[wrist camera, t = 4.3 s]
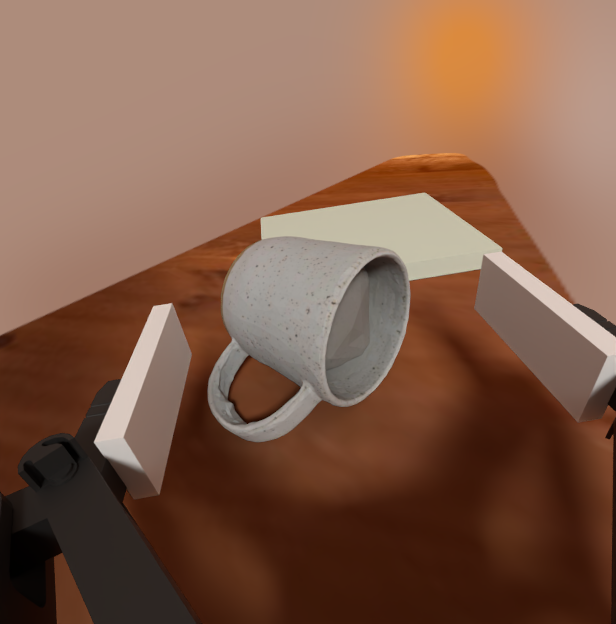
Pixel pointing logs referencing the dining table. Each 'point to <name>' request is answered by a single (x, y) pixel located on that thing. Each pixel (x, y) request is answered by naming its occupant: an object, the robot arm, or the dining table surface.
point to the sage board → (394, 232)
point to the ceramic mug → (310, 325)
